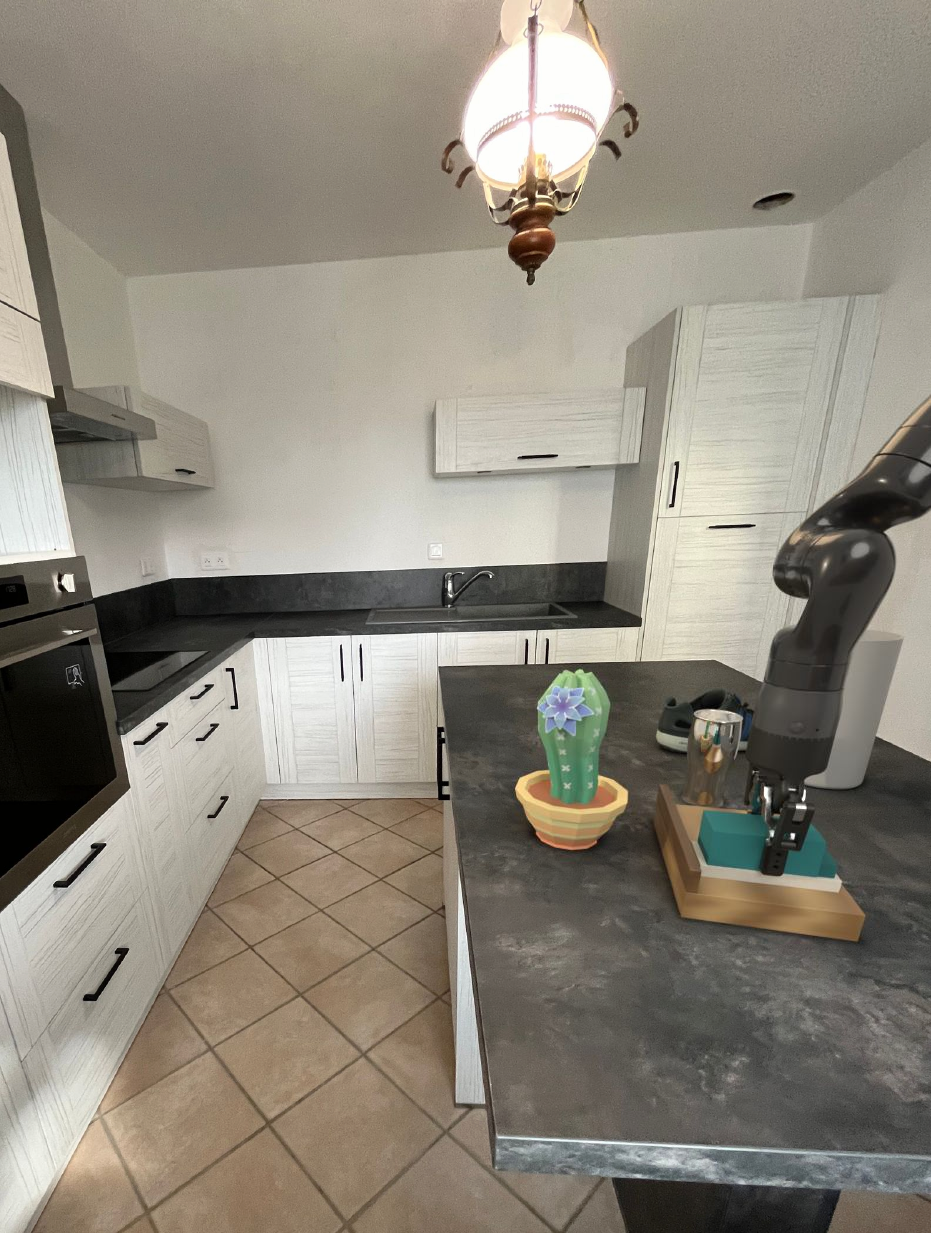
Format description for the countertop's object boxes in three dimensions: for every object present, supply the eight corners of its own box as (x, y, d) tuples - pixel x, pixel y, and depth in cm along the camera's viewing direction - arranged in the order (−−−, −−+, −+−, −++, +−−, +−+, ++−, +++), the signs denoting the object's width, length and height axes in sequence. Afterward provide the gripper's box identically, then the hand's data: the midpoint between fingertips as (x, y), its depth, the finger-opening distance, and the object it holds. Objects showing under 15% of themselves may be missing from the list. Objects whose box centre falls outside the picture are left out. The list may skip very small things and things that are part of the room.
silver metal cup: (706, 816, 92) (723, 725, 86) (668, 799, 98) (682, 712, 92) (736, 807, 94) (755, 717, 89) (697, 791, 100) (713, 706, 95)
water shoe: (808, 745, 118) (822, 688, 114) (683, 763, 112) (693, 704, 108) (763, 729, 128) (775, 677, 124) (646, 745, 121) (653, 690, 117)
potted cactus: (492, 827, 91) (498, 667, 82) (573, 807, 96) (587, 655, 87) (557, 877, 78) (574, 693, 69) (647, 851, 83) (674, 676, 74)
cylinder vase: (818, 795, 97) (858, 643, 88) (757, 767, 109) (786, 630, 100) (881, 786, 99) (925, 637, 91) (814, 760, 111) (848, 625, 102)
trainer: (818, 865, 71) (830, 820, 69) (839, 893, 66) (852, 845, 64) (688, 850, 75) (696, 808, 73) (698, 876, 70) (707, 831, 68)
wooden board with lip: (782, 839, 85) (793, 794, 82) (856, 946, 63) (873, 891, 61) (652, 826, 90) (659, 784, 87) (680, 922, 68) (690, 869, 66)
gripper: (865, 749, 56) (822, 899, 62) (809, 707, 69) (778, 834, 75) (774, 744, 59) (741, 889, 64) (736, 704, 71) (712, 828, 77)
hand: (761, 859), depth 70 cm, fingers closed on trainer, 6 cm apart
